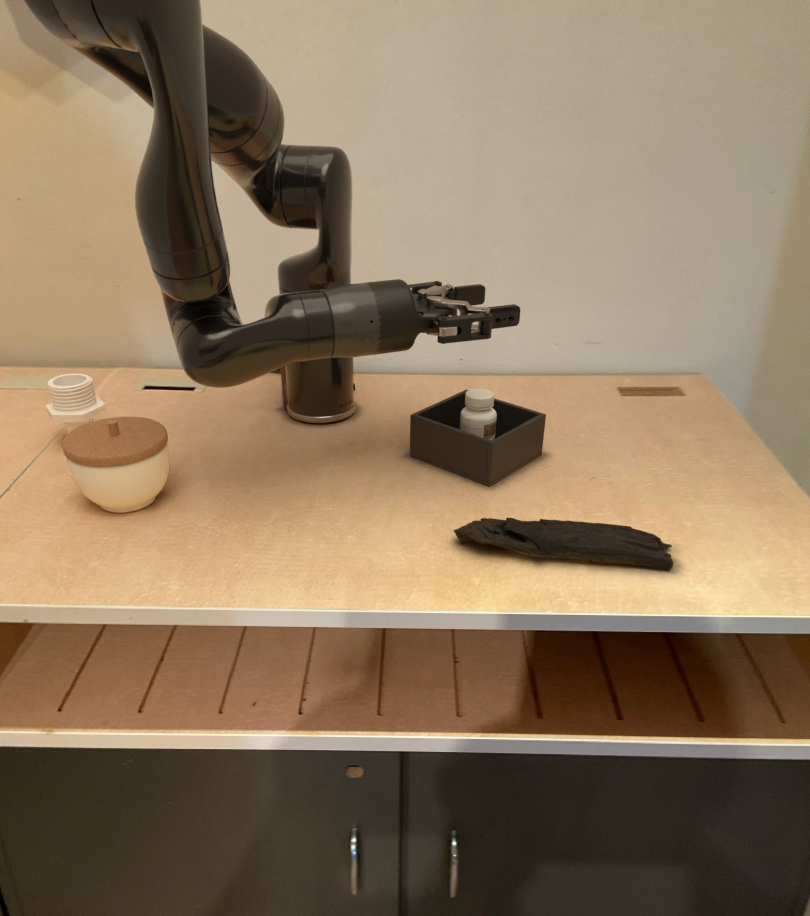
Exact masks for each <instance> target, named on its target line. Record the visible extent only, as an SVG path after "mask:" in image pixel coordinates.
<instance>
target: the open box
mask: <svg viewBox="0 0 810 916" xmlns="http://www.w3.org/2000/svg"><path fill="white" fill-rule="evenodd" d="M468 390H469V389H464V390H462V391H460V392H457V393H455V394H453V395H451V396H448V397H447V398H443V399H442V400H440V401H438V402H436V403H433V404H431V405H428V406H427V407H424V408H422V409H419V410H418V411H416V412H413V413H412V414H410V415H409V416H410V417H409V421H410V423H409V428H410V430H409V456H410V457H411V458H414V459H417V460H419V461H422V462H425V463H427V464H429V465H433V466H435V467H437V468H440V469H443V470H446V471H448V472H451V473H453V474H456V475H459V476H461V477H464V478H465V479H469V480H472V481H474V482H477V483H479V484H482V485H483V486H487V487H492V486H493V485H495V484H497V483H498V482H499V481H501V480H503V479H505V478H506V477H508V476H509V475H512V474H513V473H514V472H516V471H518V470H520V469H521V468H523V467H524V466H526V465H528V464H530V463H531V462H532V461H534V460H536V459H538V458H539V457H541V456H542V455H543V447H544V437H545V429H546V428H545V427H546V419H547V414H546V413H543V412H540V411H536V410H534V409H530V408H527V407H523V406H520V405H517V404H514V403H511V402H509V401H504V400H501V399H498V398H495V397H494V406H493V407H492V408H493V409H494V410H495V411H496V413H497V420H496V432H495V439H494V440H492V441H491V440H488V439H485V438H482V437H480V436H477V435H474V434H471V433H468V432H465V431H462V430H460V416H461V411H462V410H463V409H464V408H465V407H467V406H466V405H465V394H466V392H467V391H468Z"/></svg>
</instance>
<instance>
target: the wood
mask: <svg viewBox="0 0 810 916" xmlns="http://www.w3.org/2000/svg"><path fill="white" fill-rule="evenodd" d="M453 532H454V535H455V536H456V538H457V539H458V540H459V541H460V542H463V543H467V542H469V543H472V542H475V543H477V544H479V545H485V546H486V545H492V546H497V547H500V548H503V549H506V550H509V551H512V552H516V553H519V554H522V555H525V556H529V557H534V558H538V559H539V558H540V559H560V558H562V559H573V560H580V561H588V562H591V563H592V562H595V563H607V564H613V565H614V564H619V565H620V564H621V565H630V566H641V567H650V568H655V569H664V570H665V569H666V570H669V569H672V568H673V567H674V563H675V562H674V560H673V558H672V554H671V553H669V552H666V551H667V550H669V549H670V548H673V546H672V544H669V543H665V542H663V541H662V539H661V538H660V537H659V536H657V535H656V534H654V533H651V532H647V531H644V530H641V529H637V528H634V527H632V526H630V525H623V524H622V525H620V524H614V523H613V524H612V523H604V522H603V523H602V522H589V521H588V522H587V521H574V520H561V519H559V520H558V519H543V518H540V519H539V520H520V519H516V518H514V517H506V519H500V518H487V517H482V518H480V519H479V520H472V521H471V522H468V523H467V524H465V525H461V526H460V527H459V528H456V529H453Z"/></svg>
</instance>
